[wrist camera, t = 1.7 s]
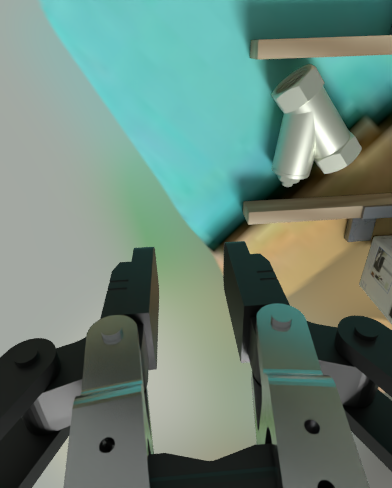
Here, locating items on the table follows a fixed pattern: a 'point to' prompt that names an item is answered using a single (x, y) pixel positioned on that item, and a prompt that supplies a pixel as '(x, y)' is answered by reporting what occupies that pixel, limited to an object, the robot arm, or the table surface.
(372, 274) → the light bulb box
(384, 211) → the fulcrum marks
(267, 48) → the wooden frame
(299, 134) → the pipe fitting
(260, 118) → the table surface
